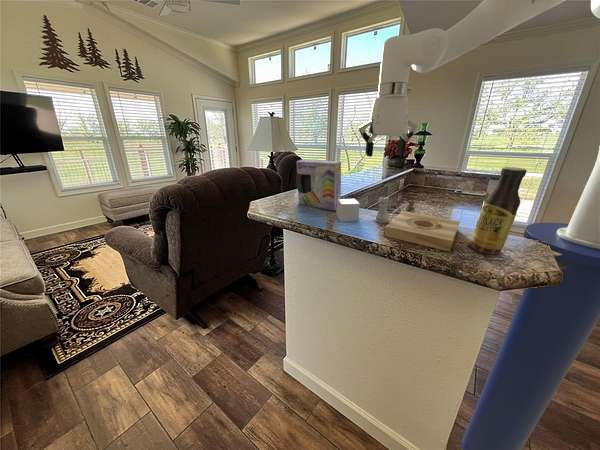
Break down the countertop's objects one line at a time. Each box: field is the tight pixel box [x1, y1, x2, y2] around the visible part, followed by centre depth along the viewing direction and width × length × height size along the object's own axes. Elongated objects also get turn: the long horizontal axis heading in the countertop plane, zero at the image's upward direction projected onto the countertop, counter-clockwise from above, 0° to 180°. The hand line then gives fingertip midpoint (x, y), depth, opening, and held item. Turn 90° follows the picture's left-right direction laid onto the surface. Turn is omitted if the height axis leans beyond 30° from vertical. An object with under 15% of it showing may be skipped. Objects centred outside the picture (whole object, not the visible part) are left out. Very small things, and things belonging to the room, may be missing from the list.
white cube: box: [335, 197, 361, 222], centre depth 79 cm, size 6×6×6 cm
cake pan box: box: [295, 158, 342, 212], centre depth 90 cm, size 19×5×18 cm, turn 48°
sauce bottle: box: [470, 166, 528, 255], centre depth 54 cm, size 7×6×20 cm
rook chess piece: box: [374, 196, 390, 224], centre depth 75 cm, size 4×4×8 cm
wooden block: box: [384, 210, 461, 253], centre depth 67 cm, size 16×16×3 cm
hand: (384, 155), depth 72 cm, fingers open, 9 cm apart
